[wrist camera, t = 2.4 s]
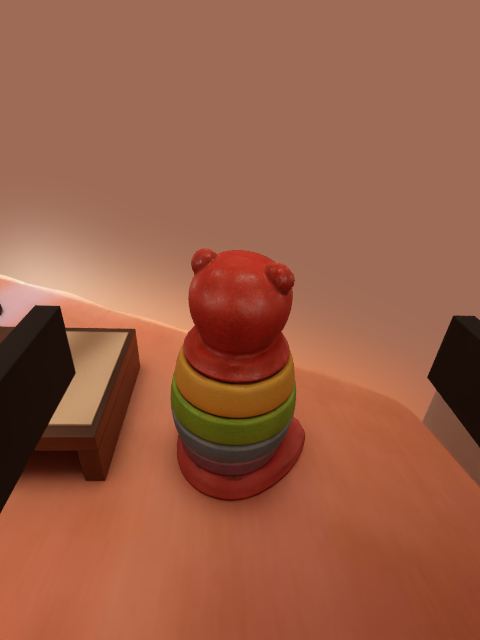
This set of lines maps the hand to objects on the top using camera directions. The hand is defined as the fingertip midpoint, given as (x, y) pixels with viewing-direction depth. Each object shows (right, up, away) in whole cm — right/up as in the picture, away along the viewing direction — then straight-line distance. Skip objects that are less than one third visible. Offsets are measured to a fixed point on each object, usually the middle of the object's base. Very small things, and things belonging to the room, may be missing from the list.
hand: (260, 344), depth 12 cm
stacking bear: (-1, -10, +19) cm, 21 cm away
